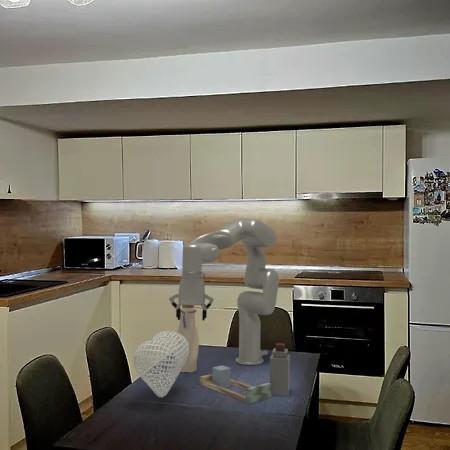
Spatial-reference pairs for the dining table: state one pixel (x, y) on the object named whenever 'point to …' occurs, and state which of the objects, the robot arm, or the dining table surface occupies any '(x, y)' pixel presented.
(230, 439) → the dining table surface
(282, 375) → the perfume bottle
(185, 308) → the water bottle
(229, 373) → the grey rectangular block
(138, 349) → the heart
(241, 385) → the track
